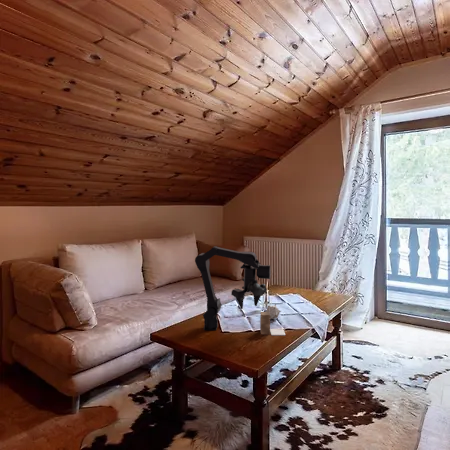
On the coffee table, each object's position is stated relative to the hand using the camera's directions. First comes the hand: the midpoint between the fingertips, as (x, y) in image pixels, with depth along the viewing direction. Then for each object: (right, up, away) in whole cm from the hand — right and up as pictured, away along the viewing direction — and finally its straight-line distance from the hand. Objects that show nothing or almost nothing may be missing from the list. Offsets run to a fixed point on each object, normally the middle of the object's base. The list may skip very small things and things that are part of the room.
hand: (248, 307), depth 178 cm
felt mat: (+15, -13, 0) cm, 19 cm away
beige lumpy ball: (+15, -11, +19) cm, 27 cm away
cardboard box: (+8, -13, 0) cm, 15 cm away
